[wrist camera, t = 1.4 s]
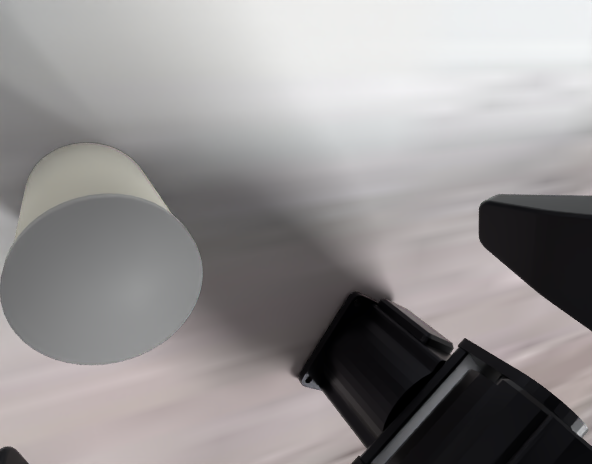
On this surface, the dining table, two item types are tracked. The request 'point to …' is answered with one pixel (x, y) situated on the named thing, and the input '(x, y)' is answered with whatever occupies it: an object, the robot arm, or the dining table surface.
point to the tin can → (97, 260)
